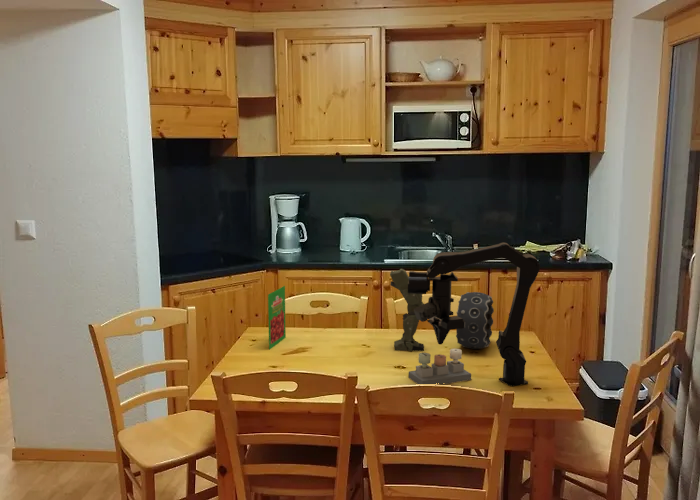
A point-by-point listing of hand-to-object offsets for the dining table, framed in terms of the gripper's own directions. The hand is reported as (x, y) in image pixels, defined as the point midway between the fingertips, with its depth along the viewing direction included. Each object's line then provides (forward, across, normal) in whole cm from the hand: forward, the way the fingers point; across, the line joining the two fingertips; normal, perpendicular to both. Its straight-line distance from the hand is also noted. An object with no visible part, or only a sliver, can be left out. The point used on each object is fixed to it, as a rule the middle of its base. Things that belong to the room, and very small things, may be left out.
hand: (440, 344), depth 200 cm
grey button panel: (+11, 0, 0) cm, 11 cm away
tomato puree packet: (+12, -54, -36) cm, 66 cm away
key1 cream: (+7, 0, +6) cm, 9 cm away
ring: (+11, -23, +28) cm, 38 cm away
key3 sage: (+8, 0, -5) cm, 9 cm away
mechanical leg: (+11, -31, +5) cm, 33 cm away
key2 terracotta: (+9, 0, 0) cm, 9 cm away
